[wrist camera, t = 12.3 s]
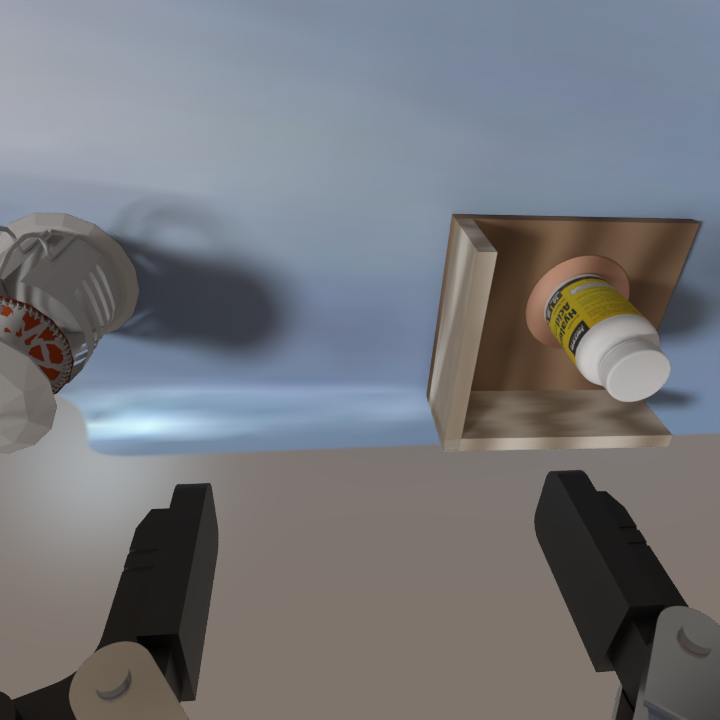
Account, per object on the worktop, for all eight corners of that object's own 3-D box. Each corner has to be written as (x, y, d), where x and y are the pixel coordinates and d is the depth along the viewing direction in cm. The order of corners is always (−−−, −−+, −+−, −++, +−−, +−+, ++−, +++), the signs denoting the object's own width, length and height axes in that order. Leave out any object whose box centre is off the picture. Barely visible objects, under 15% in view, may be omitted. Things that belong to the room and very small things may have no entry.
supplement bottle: (542, 278, 41) (600, 348, 33) (614, 265, 41) (691, 331, 33) (540, 340, 44) (593, 417, 36) (608, 327, 44) (677, 403, 35)
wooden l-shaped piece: (691, 219, 40) (756, 255, 35) (624, 393, 49) (667, 446, 43) (452, 214, 39) (478, 251, 33) (426, 395, 47) (443, 451, 42)
